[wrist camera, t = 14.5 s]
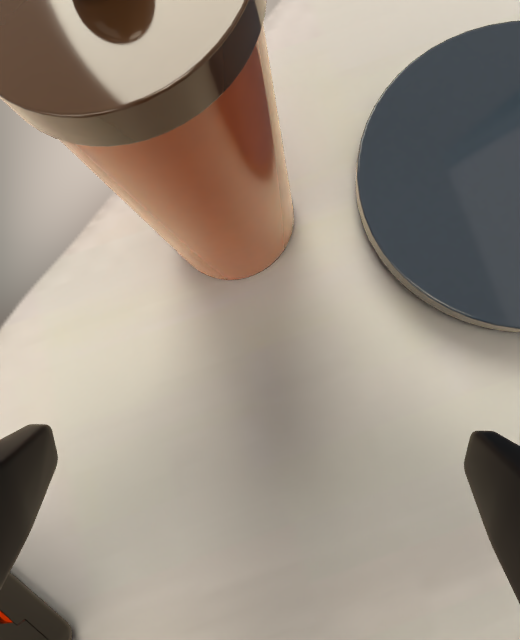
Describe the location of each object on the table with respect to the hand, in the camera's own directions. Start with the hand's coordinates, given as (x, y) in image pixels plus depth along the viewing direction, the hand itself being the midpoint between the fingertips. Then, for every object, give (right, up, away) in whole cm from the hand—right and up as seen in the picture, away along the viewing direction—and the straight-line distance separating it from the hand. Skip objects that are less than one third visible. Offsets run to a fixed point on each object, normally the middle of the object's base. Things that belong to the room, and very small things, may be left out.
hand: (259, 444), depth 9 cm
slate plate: (+11, +9, +9) cm, 16 cm away
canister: (-1, +7, +10) cm, 13 cm away
